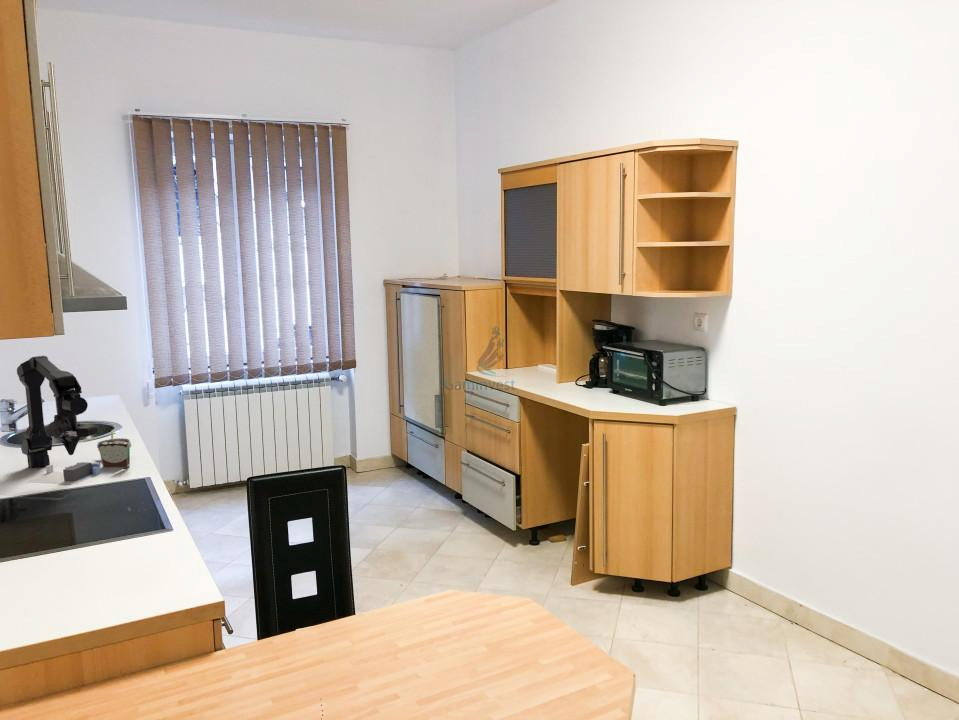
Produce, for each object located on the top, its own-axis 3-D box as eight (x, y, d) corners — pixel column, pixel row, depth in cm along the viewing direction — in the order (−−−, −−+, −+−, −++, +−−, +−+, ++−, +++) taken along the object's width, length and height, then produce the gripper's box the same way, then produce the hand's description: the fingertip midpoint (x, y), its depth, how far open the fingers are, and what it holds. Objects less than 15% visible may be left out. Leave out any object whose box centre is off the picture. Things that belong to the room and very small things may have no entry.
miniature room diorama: (25, 484, 266) (24, 472, 265) (52, 473, 278) (50, 461, 277) (76, 486, 262) (75, 473, 261) (101, 474, 274) (100, 463, 274)
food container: (140, 464, 287) (137, 438, 285) (131, 469, 281) (128, 442, 279) (109, 464, 288) (106, 438, 286) (99, 468, 282) (96, 442, 280)
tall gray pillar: (64, 481, 265) (63, 469, 265) (82, 473, 274) (81, 462, 274) (74, 481, 265) (73, 470, 264) (92, 473, 273) (91, 462, 273)
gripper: (24, 415, 257) (30, 460, 260) (73, 416, 254) (78, 462, 256) (48, 408, 268) (54, 451, 271) (96, 409, 265) (101, 453, 267)
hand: (71, 454), depth 266 cm, fingers closed
